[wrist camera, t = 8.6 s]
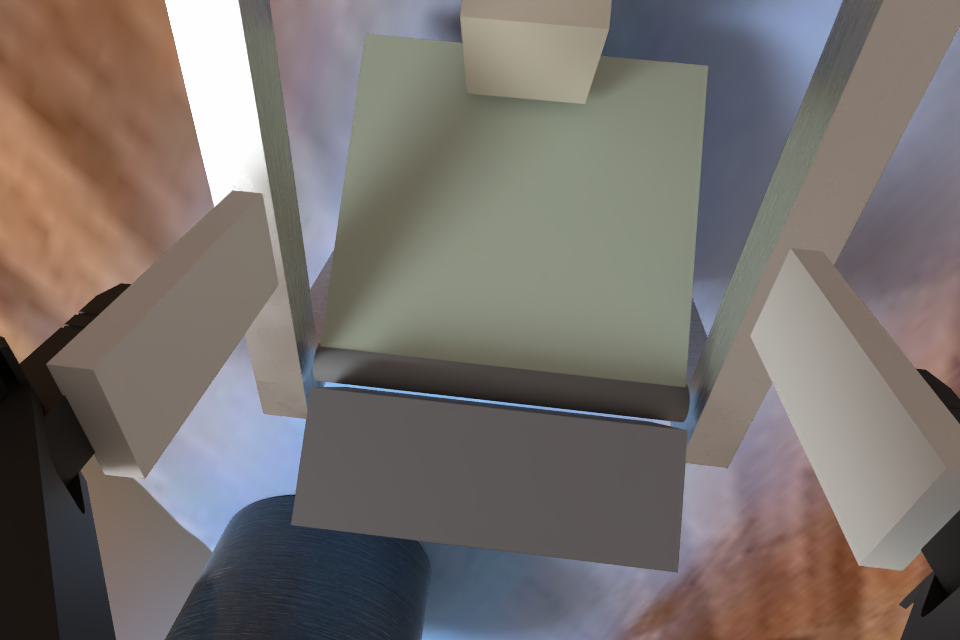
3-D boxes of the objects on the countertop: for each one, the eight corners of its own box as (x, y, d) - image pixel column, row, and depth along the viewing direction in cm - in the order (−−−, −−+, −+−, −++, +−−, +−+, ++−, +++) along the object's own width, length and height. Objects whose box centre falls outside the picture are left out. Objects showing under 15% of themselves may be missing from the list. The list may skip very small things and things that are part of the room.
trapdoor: (376, 71, 28) (352, 2, 23) (686, 100, 27) (730, 37, 22) (317, 495, 25) (274, 523, 20) (654, 536, 25) (694, 574, 20)
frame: (318, -163, 23) (113, -220, 12) (801, -123, 23) (1048, -145, 12) (351, 252, 36) (263, 413, 24) (668, 286, 35) (727, 467, 24)
